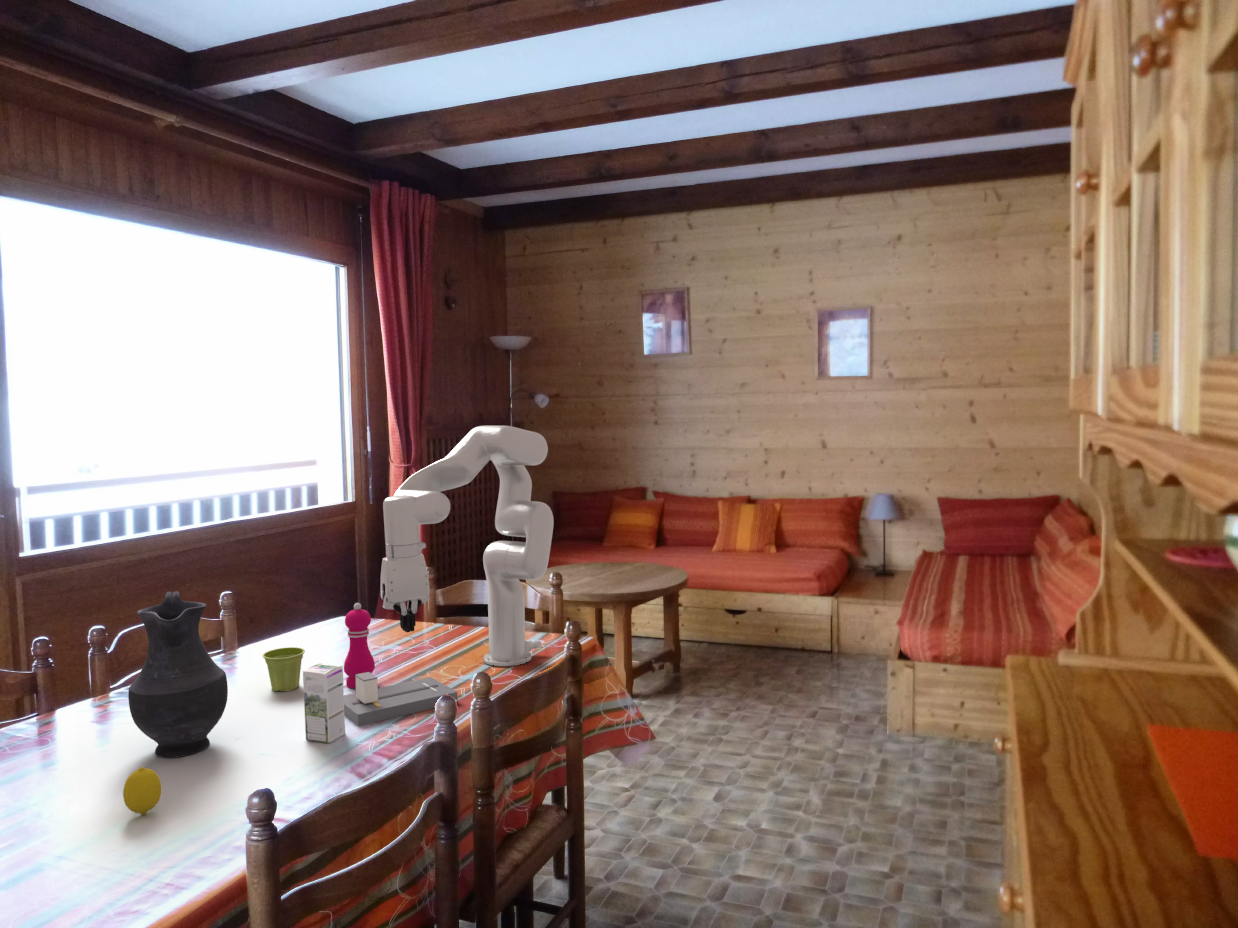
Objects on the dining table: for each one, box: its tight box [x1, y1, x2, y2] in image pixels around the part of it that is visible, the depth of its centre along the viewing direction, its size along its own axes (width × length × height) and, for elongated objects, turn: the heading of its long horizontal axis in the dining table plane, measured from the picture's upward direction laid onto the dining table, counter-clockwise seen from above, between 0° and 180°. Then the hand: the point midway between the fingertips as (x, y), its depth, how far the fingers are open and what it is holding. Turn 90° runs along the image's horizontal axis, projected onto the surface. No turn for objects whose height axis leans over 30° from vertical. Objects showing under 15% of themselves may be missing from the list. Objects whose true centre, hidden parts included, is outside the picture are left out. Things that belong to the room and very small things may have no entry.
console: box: [344, 676, 459, 727], centre depth 195 cm, size 23×14×3 cm, turn 127°
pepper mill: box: [343, 602, 376, 689], centre depth 209 cm, size 7×7×20 cm
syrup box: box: [302, 663, 346, 744], centre depth 176 cm, size 6×6×14 cm
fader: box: [355, 672, 379, 704], centre depth 190 cm, size 3×5×5 cm, turn 37°
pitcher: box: [127, 591, 229, 759], centre depth 172 cm, size 17×21×30 cm
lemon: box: [122, 766, 163, 816], centre depth 143 cm, size 6×6×8 cm
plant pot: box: [262, 646, 306, 692], centre depth 208 cm, size 9×9×9 cm
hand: (408, 630), depth 196 cm, fingers closed
